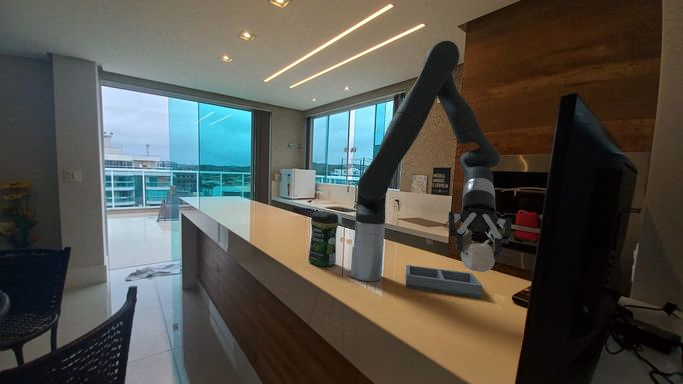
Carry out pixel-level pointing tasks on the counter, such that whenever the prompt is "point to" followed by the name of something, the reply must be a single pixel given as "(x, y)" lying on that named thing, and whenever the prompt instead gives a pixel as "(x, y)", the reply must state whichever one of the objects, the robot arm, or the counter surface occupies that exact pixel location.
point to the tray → (443, 281)
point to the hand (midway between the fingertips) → (478, 252)
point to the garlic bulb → (478, 256)
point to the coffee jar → (323, 238)
